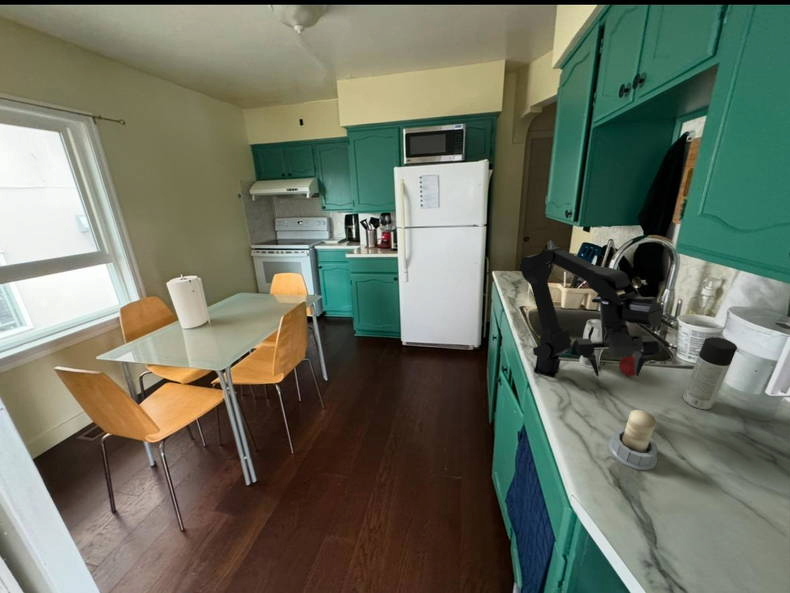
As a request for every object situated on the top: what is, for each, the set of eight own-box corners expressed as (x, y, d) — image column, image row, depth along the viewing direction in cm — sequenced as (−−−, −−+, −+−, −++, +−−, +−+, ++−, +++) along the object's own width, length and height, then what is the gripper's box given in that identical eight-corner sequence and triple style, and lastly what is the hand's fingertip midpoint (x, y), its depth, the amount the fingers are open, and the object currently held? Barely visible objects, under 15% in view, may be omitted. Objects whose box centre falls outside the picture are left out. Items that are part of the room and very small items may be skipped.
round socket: (607, 459, 85) (610, 448, 84) (609, 431, 93) (612, 421, 92) (657, 477, 81) (662, 465, 79) (655, 446, 88) (659, 435, 87)
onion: (641, 382, 111) (647, 360, 107) (620, 380, 112) (626, 358, 108) (633, 370, 116) (639, 350, 112) (614, 369, 117) (619, 348, 114)
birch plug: (616, 449, 87) (626, 416, 83) (625, 439, 90) (635, 407, 86) (639, 462, 84) (651, 429, 79) (647, 451, 86) (659, 418, 82)
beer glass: (602, 370, 116) (612, 330, 110) (578, 366, 119) (587, 327, 112) (599, 358, 122) (608, 320, 116) (576, 355, 125) (584, 317, 118)
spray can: (718, 409, 99) (745, 348, 91) (695, 411, 99) (720, 350, 90) (697, 393, 105) (721, 335, 97) (676, 395, 105) (698, 336, 96)
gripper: (579, 331, 88) (583, 390, 91) (669, 326, 82) (670, 389, 85) (572, 319, 99) (576, 371, 101) (651, 313, 92) (653, 370, 95)
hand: (616, 375), depth 95 cm, fingers open, 9 cm apart
